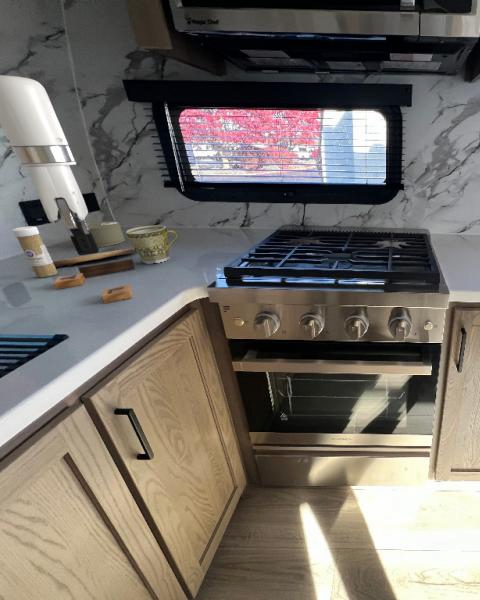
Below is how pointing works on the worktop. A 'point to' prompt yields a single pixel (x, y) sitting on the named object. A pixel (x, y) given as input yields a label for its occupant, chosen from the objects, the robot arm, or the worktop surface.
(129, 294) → the tile
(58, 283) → the tile
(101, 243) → the olive green bowl
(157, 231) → the ceramic cup
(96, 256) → the wooden board
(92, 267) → the dark brown wooden block
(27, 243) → the sprinkles bottle
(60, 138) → the robot arm
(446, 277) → the worktop surface
